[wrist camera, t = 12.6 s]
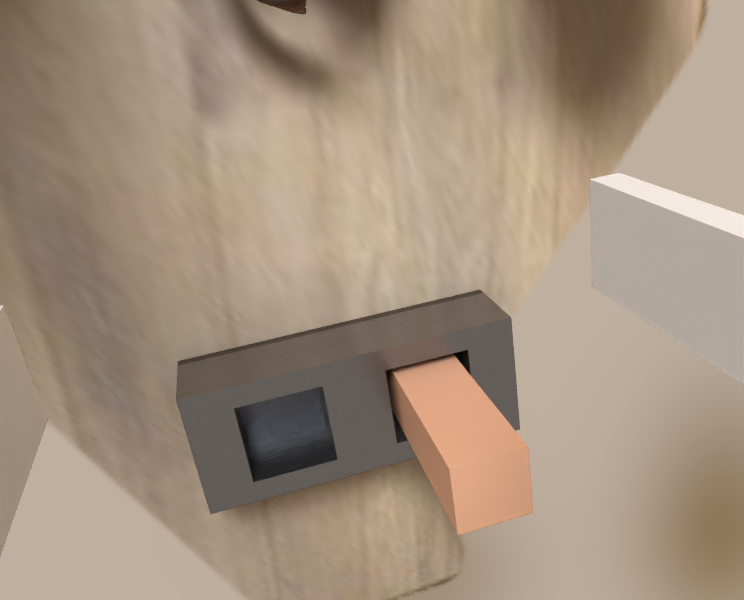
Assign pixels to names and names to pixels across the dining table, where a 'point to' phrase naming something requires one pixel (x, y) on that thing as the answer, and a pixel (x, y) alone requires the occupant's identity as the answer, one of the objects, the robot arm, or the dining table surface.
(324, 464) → the grey peg hole block
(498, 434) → the terracotta peg
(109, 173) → the dining table surface
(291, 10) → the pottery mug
